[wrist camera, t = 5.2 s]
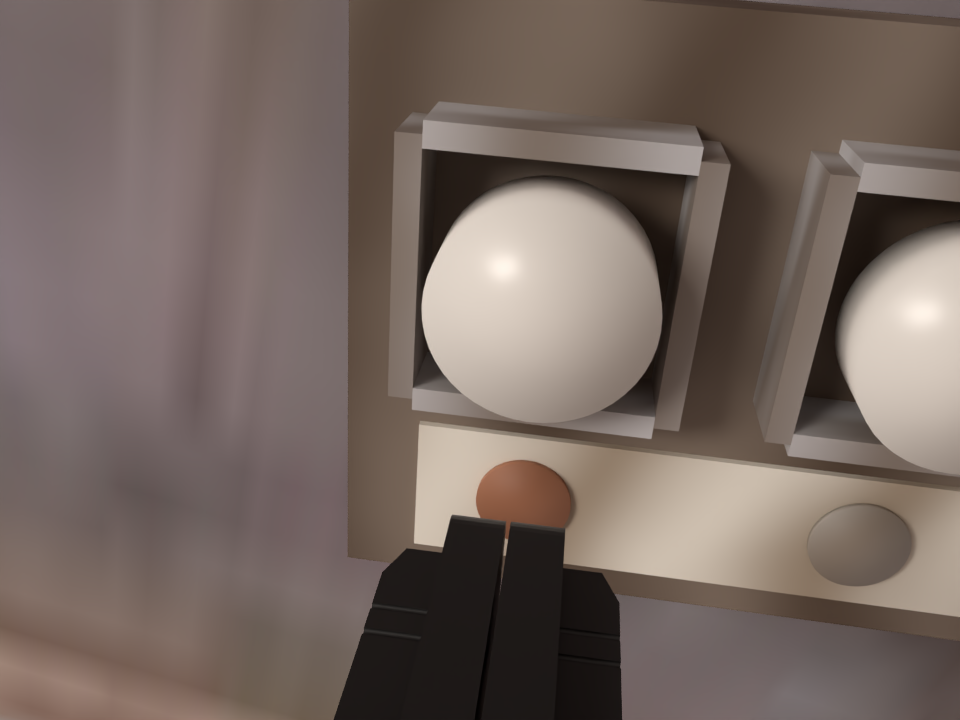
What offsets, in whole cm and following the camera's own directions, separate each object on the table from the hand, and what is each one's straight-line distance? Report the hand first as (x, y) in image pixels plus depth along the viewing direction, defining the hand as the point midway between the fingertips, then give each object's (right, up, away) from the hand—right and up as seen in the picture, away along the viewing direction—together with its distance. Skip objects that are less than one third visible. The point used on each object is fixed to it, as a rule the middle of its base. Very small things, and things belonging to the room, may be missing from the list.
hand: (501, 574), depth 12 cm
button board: (+10, +3, +12) cm, 16 cm away
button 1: (+1, +5, +9) cm, 10 cm away
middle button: (+10, +4, +8) cm, 13 cm away
